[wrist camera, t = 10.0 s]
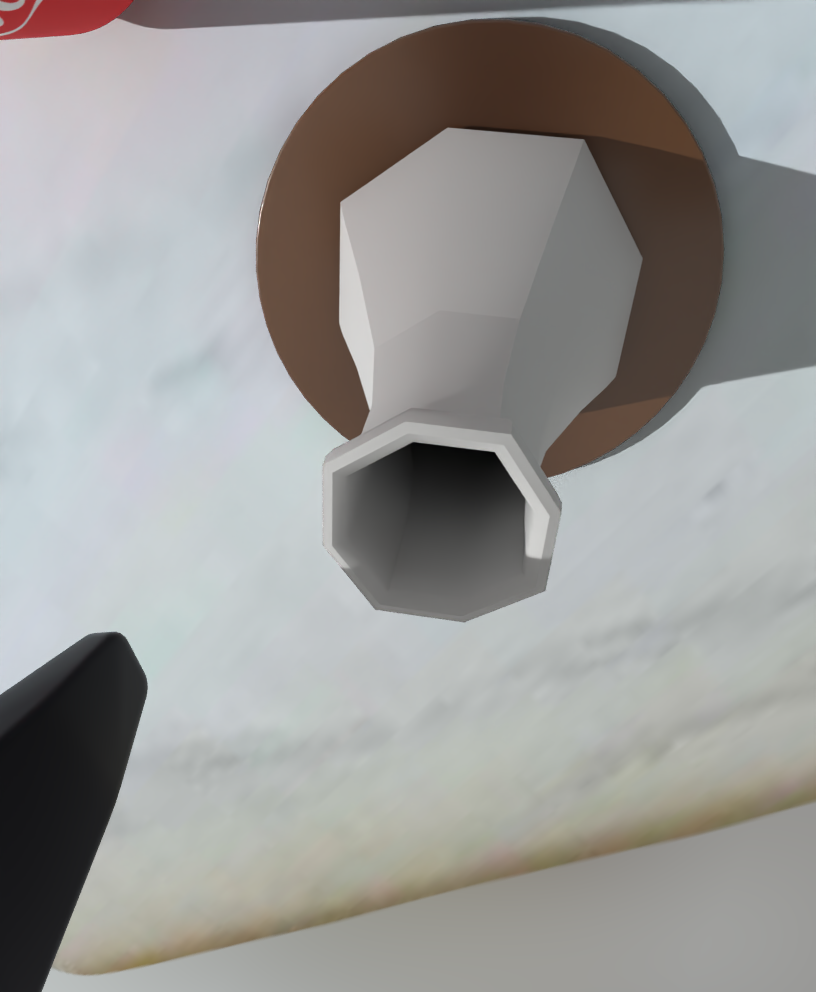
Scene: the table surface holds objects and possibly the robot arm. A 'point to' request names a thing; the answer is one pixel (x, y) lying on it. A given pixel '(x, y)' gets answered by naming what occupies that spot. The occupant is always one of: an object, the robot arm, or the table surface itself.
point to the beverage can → (56, 17)
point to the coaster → (510, 109)
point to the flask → (470, 363)
